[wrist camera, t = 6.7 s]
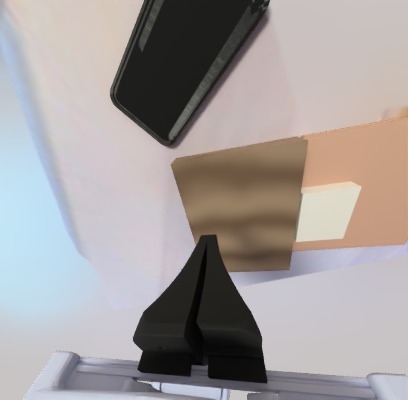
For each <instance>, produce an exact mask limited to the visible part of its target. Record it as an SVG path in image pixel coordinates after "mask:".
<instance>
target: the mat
mask: <svg viewBox="0 0 408 400" xmlns="http://www.w3.org/2000/svg"><path fill="white" fill-rule="evenodd" d="M301 138H302V139H305V140H308V147H307V154H306V160H305V167H304V174H303V180H302V187H301V188H305V187H312V186H320V185H328V184H335V183H343V182H350V181H352V182H354V183H355V184H357V185H359V186H361V190H360V193H359V196H358V198H357V201H356V204H355V207H354V209H353V212H352V215H351V218H350V220H349V223H348V226H347V229H346V231H345V234H344V237H343V239H330V240H317V241H303V242H296V241H295V240H293V247H292V251H302V250H319V249H336V248H353V247H369V246H386V245H403V244H405V243H406V242H407V240H408V117H403V118H397V119H392V120H386V121H381V122H375V123H370V124H364V125H359V126H353V127H348V128H342V129H337V130H331V131H325V132H320V133H314V134H309V135H303V136H301Z"/></svg>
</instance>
